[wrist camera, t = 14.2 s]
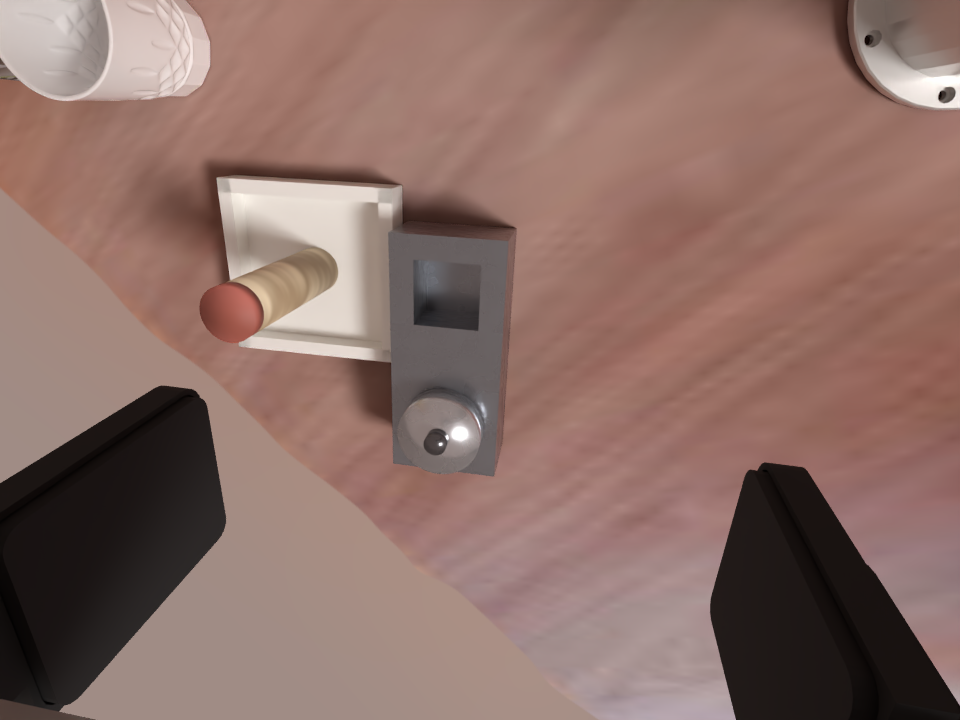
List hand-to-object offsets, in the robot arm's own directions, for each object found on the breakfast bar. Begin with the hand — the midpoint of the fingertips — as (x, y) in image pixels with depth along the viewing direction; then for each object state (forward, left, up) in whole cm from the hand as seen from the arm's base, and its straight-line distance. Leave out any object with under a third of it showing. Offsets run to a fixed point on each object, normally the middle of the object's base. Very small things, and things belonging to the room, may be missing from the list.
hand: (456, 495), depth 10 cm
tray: (+5, -17, -33) cm, 38 cm away
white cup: (-10, -28, -33) cm, 44 cm away
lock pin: (+5, -17, -32) cm, 37 cm away
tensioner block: (+10, -6, -33) cm, 35 cm away
